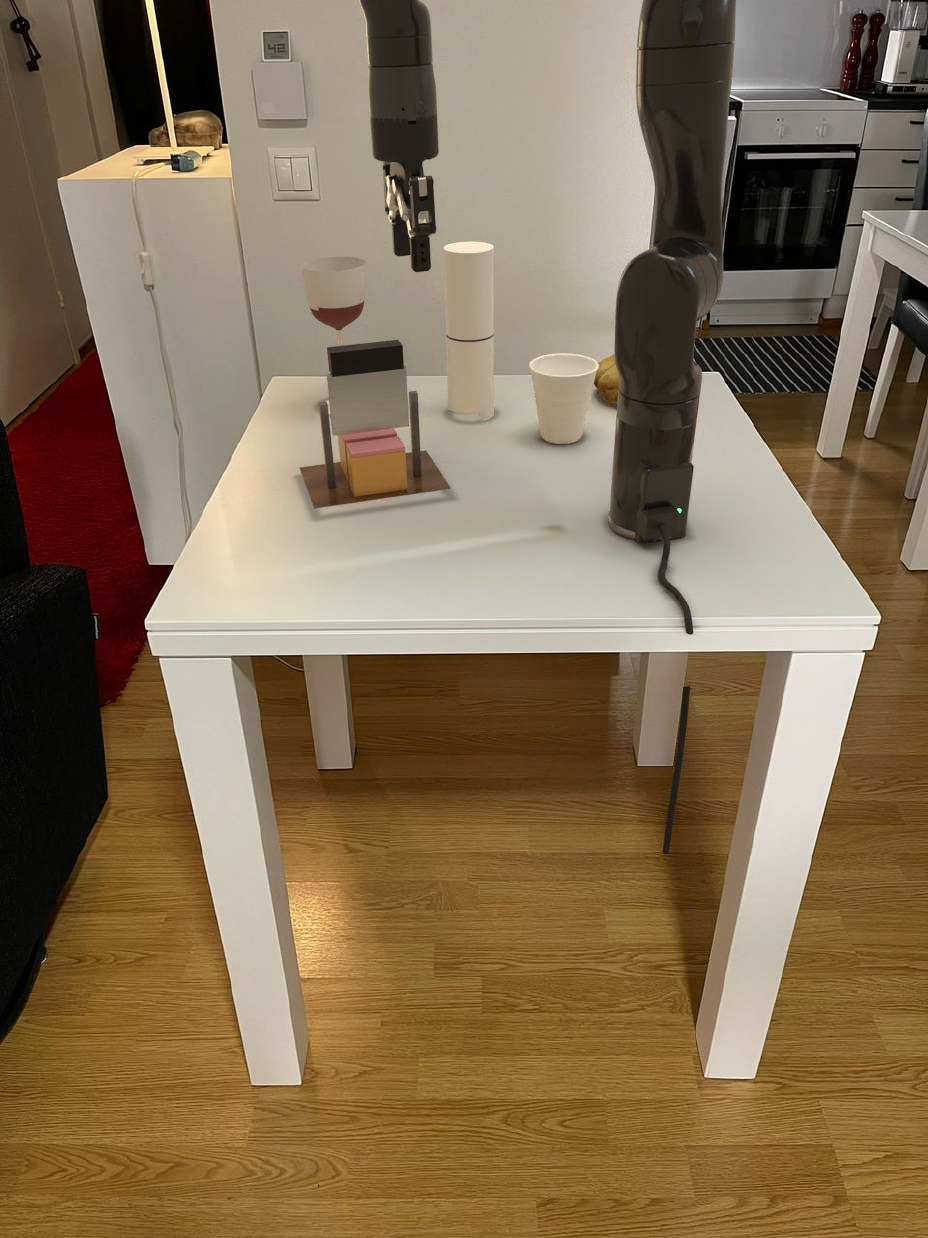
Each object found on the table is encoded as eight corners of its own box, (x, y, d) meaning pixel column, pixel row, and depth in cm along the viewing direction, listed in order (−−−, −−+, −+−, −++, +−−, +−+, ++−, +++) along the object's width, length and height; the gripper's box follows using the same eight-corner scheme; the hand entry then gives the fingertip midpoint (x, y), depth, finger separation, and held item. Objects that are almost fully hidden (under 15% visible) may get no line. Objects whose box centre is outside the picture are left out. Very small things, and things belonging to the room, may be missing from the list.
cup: (597, 450, 139) (602, 375, 133) (528, 450, 139) (530, 376, 133) (591, 423, 147) (595, 352, 141) (526, 424, 148) (527, 353, 142)
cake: (407, 489, 126) (405, 446, 123) (354, 497, 124) (350, 453, 121) (390, 459, 134) (387, 418, 131) (340, 466, 132) (336, 424, 129)
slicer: (451, 498, 127) (449, 403, 120) (315, 518, 123) (304, 422, 116) (426, 459, 137) (422, 370, 130) (300, 477, 133) (289, 385, 126)
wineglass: (310, 400, 157) (295, 260, 145) (367, 392, 160) (356, 254, 148) (323, 419, 151) (308, 274, 138) (382, 410, 153) (372, 267, 141)
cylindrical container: (443, 420, 149) (437, 251, 136) (454, 404, 155) (450, 240, 141) (488, 424, 148) (487, 253, 134) (498, 407, 154) (498, 242, 140)
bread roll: (660, 413, 150) (665, 363, 146) (597, 414, 150) (601, 364, 146) (647, 384, 161) (651, 336, 156) (588, 385, 161) (591, 338, 157)
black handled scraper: (411, 429, 125) (406, 344, 119) (334, 438, 122) (326, 353, 116) (406, 422, 127) (402, 338, 121) (331, 431, 124) (322, 347, 118)
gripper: (356, 107, 112) (368, 253, 121) (385, 119, 101) (396, 279, 110) (419, 103, 114) (426, 247, 123) (454, 115, 103) (459, 273, 111)
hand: (411, 262), depth 116 cm, fingers open, 8 cm apart
